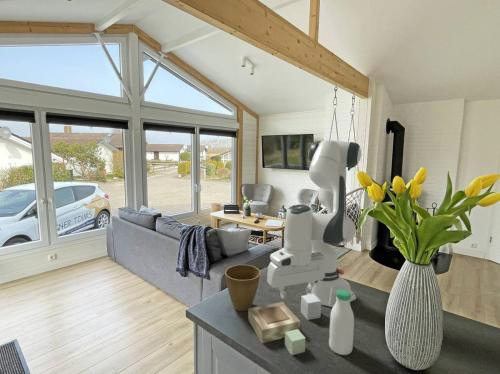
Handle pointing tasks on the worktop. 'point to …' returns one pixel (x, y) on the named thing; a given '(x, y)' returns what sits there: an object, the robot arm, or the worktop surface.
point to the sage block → (295, 342)
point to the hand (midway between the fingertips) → (296, 295)
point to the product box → (310, 306)
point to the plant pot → (242, 285)
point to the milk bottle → (341, 324)
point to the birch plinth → (272, 321)
